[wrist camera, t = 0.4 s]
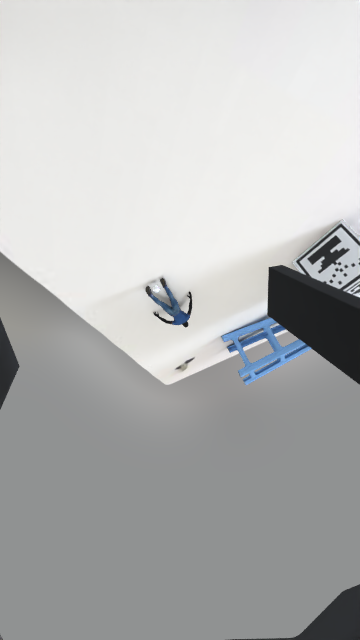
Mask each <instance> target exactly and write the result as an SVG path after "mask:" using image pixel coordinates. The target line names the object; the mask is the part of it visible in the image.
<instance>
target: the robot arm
mask: <svg viewBox="0 0 360 640" xmlns="http://www.w3.org/2000/svg"><path fill="white" fill-rule="evenodd" d="M267 315H268V316H269V317H271V318H272V319H273V320H275V321H276V322H277V323H279V324H280V325H281V326H283V327H284V328H285V329H287V330H288V331H289V332H291V333H292V334H293V335H294V336H296V337H297V338H298V339H300V340H301V341H302V342H304V343H305V344H306V345H308V346H309V347H310V348H312V349H313V350H315V351H316V352H317V353H318V354H320V355H321V356H322V357H324V358H325V359H326V360H328V361H329V362H330V363H332V364H333V365H334V366H336V367H337V368H338V369H340V370H341V371H342V372H344V373H345V374H346V375H348V376H349V377H350V378H352V379H353V380H354V381H356V382H357V383H358V384H360V297H357V296H355V295H352V294H350V293H348V292H345V291H343V290H341V289H338V288H336V287H333V286H331V285H329V284H326V283H324V282H321V281H319V280H317V279H314V278H312V277H310V276H307V275H305V274H302V273H300V272H298V271H295V270H293V269H290V268H288V267H286V266H283V265H279V266H274V267H269V280H268V313H267ZM18 368H19V364H18V361H17V359H16V356H15V354H14V351H13V349H12V346H11V344H10V341H9V339H8V336H7V334H6V331H5V328H4V326H3V324H2V321H1V319H0V409H1V407H2V404H3V402H4V400H5V398H6V395H7V393H8V391H9V389H10V386H11V384H12V382H13V379H14V377H15V375H16V372H17V371H18ZM0 640H3V639H2V637H1V635H0ZM232 640H234V639H232ZM235 640H360V585H357V586H355V587H352V588H350V589H347V590H345V591H343V592H342V593H341V594H340V595H339V596H338V597H337V598H336V599H335V600H334V601H333V602H332V603H331V604H330V605H329V606H328V607H327V608H326V609H325V610H324V611H323V612H322V613H321V614H320V615H319V616H318V617H317V618H316V619H315V620H314V621H313V622H312V623H311V624H310V625H309V626H308V627H307V628H306V629H305V630H304V631H303V632H302V633H301V634H300V635H298V636H296V637H294V638H280V639H279V638H278V639H235Z"/></svg>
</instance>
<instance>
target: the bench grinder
mask: <svg viewBox="0 0 360 640" xmlns="http://www.w3.org/2000/svg"><path fill="white" fill-rule="evenodd" d="M274 323H277V322H276V321H275V320H273V319H272V318H269V319H266V320H263V321H261V322H258V323H255V324H253V325H250V326H247V327H245V328H242V329H239V330H237V331H234V332H231V333H229V334H226V335H223V336H221V337H222V339H223V341H224V342H226V341H229V340H233V341H234V343H235V344H234V345H231V346H229V347H227V348H228V350H229V352H230V353H231V352H233V351H235V350H238V351H239V353H240V355H241V357H242V359H243V361H244V363H245V367H244V368H242V369H241V370H238V373H239V375H240V377H243V376H245V375H246V374H248V373H249V374H250V375H249V376H248V377H246V378H244V379H243V381H244V383H245V385H247V384H249V383H251V382H253V381H254V380H256V379H258V378H260V377H262V376H263V375H265V374H267V373H269V372H271V371H272V370H274V369H276V368H278V367H280V366H281V365H283V364H285V363H287V362H289V361H290V360H292V359H294V358H296V357H298V356H299V355H301V354H303V353H305V352H307V351H308V350H310V349H312V348H310V347H309V346H308V345H306V344H305V343H304V342H302V341H301V340H300V339H299V340H297V341H295V342H293V343H291V344H289V345H287V346H285V347H281V346H280V344H279V343H278V341H277V339H276V337H275V336H274V334H275V333H278V332H280V331H283V330H285V328H284V327H283V326H281V325H278V326H276V327H273V328H271V329H270V325H272V324H274ZM261 328H263V330H264V332H262V333H259V334H257V335H255V336H252V337H250V338H248V339H245V340H243V341H241V342H239V341H238V337H239V336H242V335H245V334H247V333H250V332H253V331H255V330H258V329H261ZM264 338H266V339H268V341H269V343H270V345H271V346H272V348H273V350H274V352H273V353H272V354H270V355H268V356H266V357H264V358H262V359H260V360H258V361H256V362H254V363H250V362H249V360H248V359H247V357H246V355H245V353H244V351H243V347H245V346H247V345H249V344H252V343H254V342H257V341H259V340H261V339H264ZM299 347H300V348H299ZM297 348H298V349H297ZM295 349H296V350H295ZM293 350H294V351H293ZM291 351H292V352H291ZM289 352H291V353H289ZM288 353H289V354H288ZM286 354H287V355H286ZM276 359H277V360H276ZM274 360H276V361H275V362H273V363H271V364H269V365H268V366H266V367H264V368H262V369H261V370H259V371H257V372H254V370H256V369H258V368H260V367H262V366H264V365H266V364H268V363H270V362H272V361H274Z"/></svg>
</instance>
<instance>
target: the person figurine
mask: <svg viewBox="0 0 360 640" xmlns="http://www.w3.org/2000/svg"><path fill="white" fill-rule="evenodd" d="M160 282H161V284H162V285H163V288H165V290H166V293H167V295H168V296H169V298H170V301H171V305H172V307H170V306H169V305H167V304H166V303H164V302H162V301H160V300H159V299H158V298H156V297H155V296H154V295H153V294H152V292H151V289H150V287H149V286H148V287H146V292H147V294H148V296H149V297H151V298H152V299H153V300H154V301H155V303H157V304H158V305H160V306H161V307H162V308H163V309H164V310H165V311H166V312H167V313H168V314H169V315H171V316H173V317H174V321H167V320H166V319H164V318H162V317H159V314H155V313H156V312H155V313H154V315H155V316H157V317H158V318H159V319H160V320H162V321H163V322H165V323H168V324H173V325H181V324H182V325H183V326H184V327H188V322H187V320H188V319H189V318H190V314H191V310H192V296H191V292H189V295H190V296H188V295H187V296H188V297H189V298H190V303H189V311H188V313H187V314H186V313H184V312H183V311H181V310H180V307H179V304H178V302H177V300H176V299H175V298H174V297H173V294H172V293H171V291H170V290H169V288H168V287H167V285H166V281H165V279H163V278H162V279H160ZM153 291H154V292H155V293H157V292H159V291H160V287H159V286H158V285H156V286H154V287H153Z"/></svg>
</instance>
